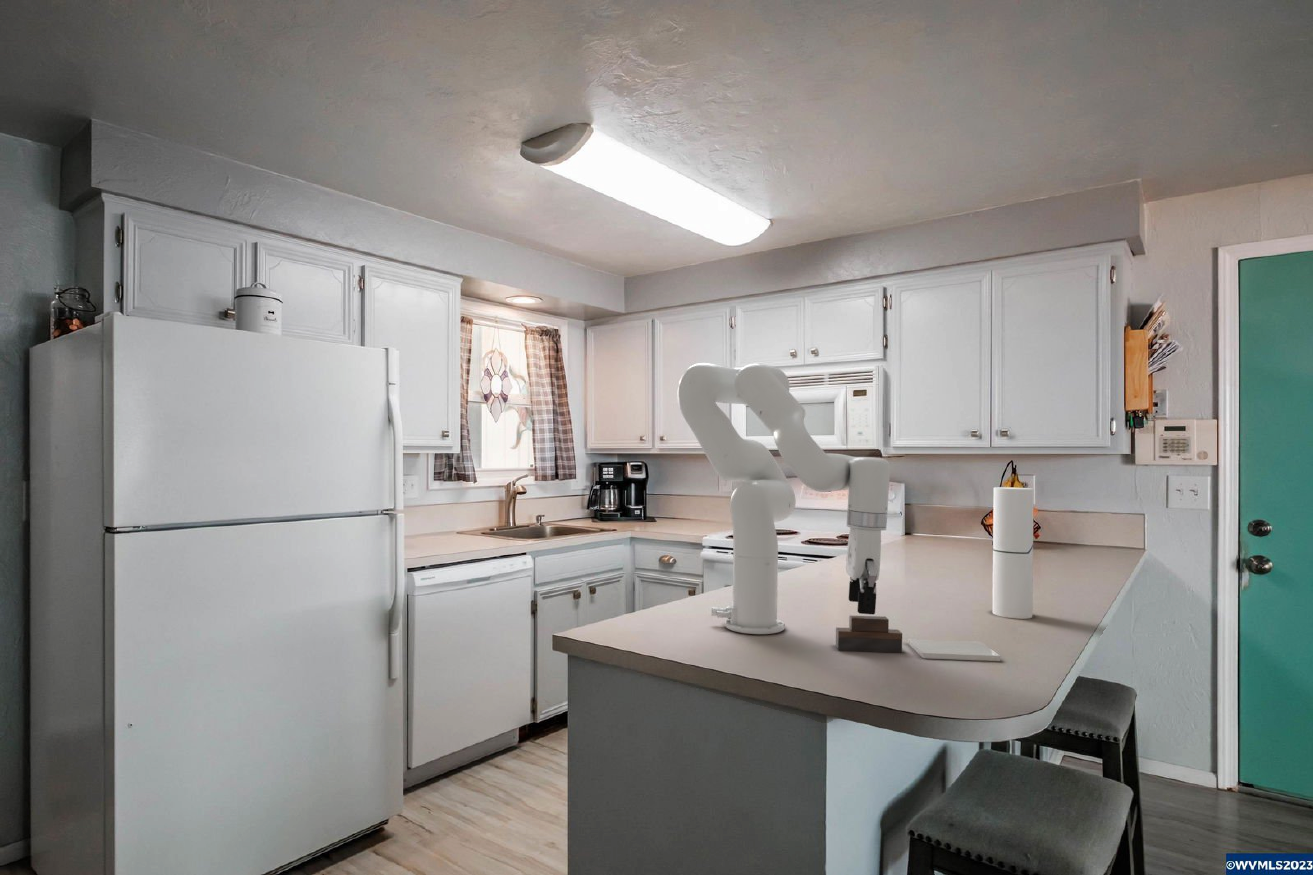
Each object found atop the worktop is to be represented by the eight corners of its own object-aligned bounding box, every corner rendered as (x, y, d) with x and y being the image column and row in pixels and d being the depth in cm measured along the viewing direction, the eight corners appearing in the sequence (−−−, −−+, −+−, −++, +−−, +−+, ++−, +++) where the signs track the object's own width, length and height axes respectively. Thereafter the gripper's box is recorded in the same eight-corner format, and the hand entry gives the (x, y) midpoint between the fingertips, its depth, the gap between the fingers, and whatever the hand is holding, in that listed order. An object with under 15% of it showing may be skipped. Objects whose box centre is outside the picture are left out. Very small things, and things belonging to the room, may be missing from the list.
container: (1023, 611, 180) (1024, 487, 180) (1038, 619, 171) (1039, 489, 172) (987, 609, 181) (988, 486, 181) (1000, 618, 172) (1001, 488, 172)
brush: (838, 650, 142) (838, 618, 142) (835, 646, 145) (836, 614, 145) (902, 652, 141) (902, 620, 141) (898, 648, 144) (898, 616, 144)
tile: (922, 658, 137) (922, 652, 137) (908, 644, 147) (908, 639, 147) (1000, 661, 136) (1000, 656, 136) (981, 646, 146) (981, 641, 146)
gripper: (840, 514, 154) (834, 596, 154) (855, 524, 136) (849, 617, 137) (876, 516, 153) (871, 598, 153) (896, 527, 136) (890, 620, 136)
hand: (861, 607), depth 145 cm, fingers open, 9 cm apart
